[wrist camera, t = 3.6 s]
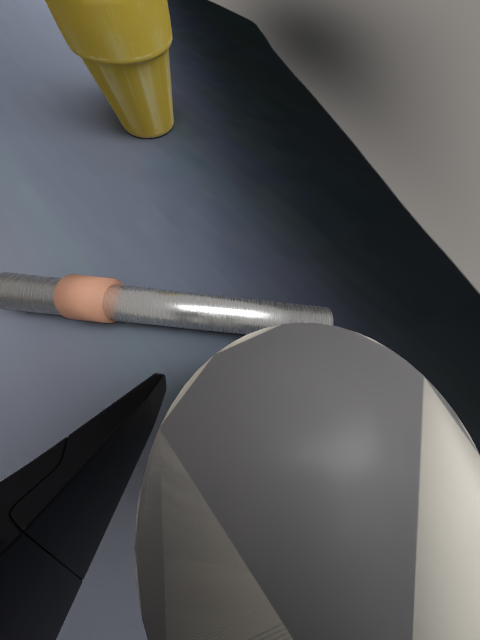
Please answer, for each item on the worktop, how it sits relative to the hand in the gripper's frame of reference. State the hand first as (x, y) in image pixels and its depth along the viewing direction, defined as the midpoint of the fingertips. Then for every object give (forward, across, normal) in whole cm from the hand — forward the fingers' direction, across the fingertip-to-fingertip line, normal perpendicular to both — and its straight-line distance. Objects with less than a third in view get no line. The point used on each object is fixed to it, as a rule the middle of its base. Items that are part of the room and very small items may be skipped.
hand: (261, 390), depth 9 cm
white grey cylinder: (+4, 0, +6) cm, 7 cm away
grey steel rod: (+9, +7, +1) cm, 11 cm away
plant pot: (+28, +16, -17) cm, 37 cm away
